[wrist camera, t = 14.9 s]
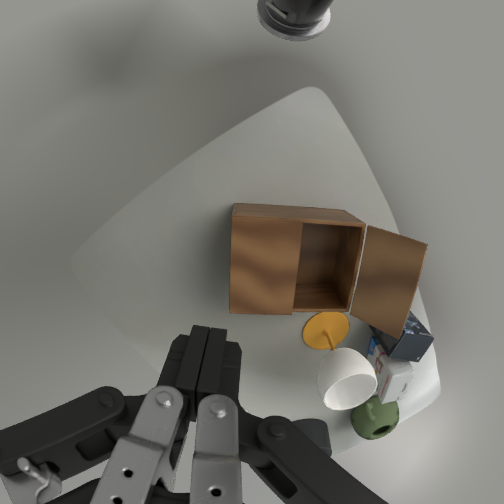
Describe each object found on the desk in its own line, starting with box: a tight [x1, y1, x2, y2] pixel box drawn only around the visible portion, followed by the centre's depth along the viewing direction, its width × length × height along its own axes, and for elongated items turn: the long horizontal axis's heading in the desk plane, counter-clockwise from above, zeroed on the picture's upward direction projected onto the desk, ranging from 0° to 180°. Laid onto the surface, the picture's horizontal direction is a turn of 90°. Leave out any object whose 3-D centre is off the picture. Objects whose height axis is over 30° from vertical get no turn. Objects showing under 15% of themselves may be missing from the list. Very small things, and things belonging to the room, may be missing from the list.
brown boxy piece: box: [229, 203, 366, 315], centre depth 39 cm, size 13×17×9 cm
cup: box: [303, 312, 378, 410], centre depth 41 cm, size 9×9×16 cm
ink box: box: [367, 337, 414, 404], centre depth 46 cm, size 9×5×12 cm, turn 4°
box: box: [369, 311, 434, 362], centre depth 44 cm, size 8×6×11 cm
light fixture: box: [292, 419, 332, 457], centre depth 53 cm, size 13×16×14 cm
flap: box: [350, 225, 428, 340], centre depth 32 cm, size 13×8×1 cm
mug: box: [351, 396, 399, 440], centre depth 54 cm, size 16×13×9 cm
